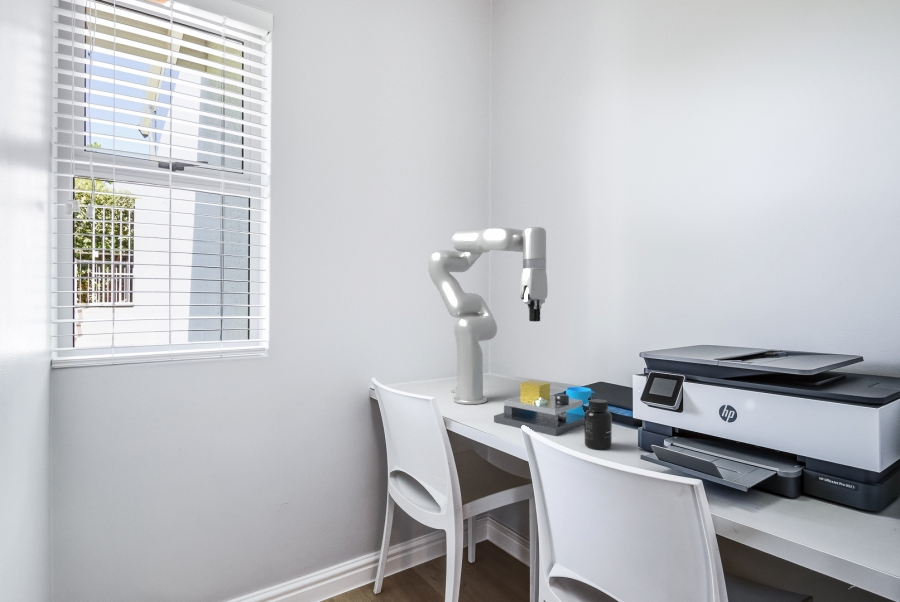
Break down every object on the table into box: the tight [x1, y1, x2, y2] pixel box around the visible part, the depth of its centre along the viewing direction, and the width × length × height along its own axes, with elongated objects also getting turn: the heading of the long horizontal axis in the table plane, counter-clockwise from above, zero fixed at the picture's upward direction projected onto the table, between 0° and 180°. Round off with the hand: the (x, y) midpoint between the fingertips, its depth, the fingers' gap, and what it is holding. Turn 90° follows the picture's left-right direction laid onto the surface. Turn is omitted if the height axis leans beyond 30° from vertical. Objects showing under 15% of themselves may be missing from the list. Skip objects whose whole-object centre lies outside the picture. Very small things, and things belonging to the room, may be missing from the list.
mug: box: [565, 386, 596, 416], centre depth 162 cm, size 12×8×8 cm
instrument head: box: [504, 380, 583, 415], centre depth 149 cm, size 18×16×7 cm
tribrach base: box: [493, 404, 585, 437], centre depth 150 cm, size 22×19×5 cm
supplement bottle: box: [584, 398, 613, 451], centre depth 126 cm, size 7×7×12 cm
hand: (534, 321), depth 158 cm, fingers closed
